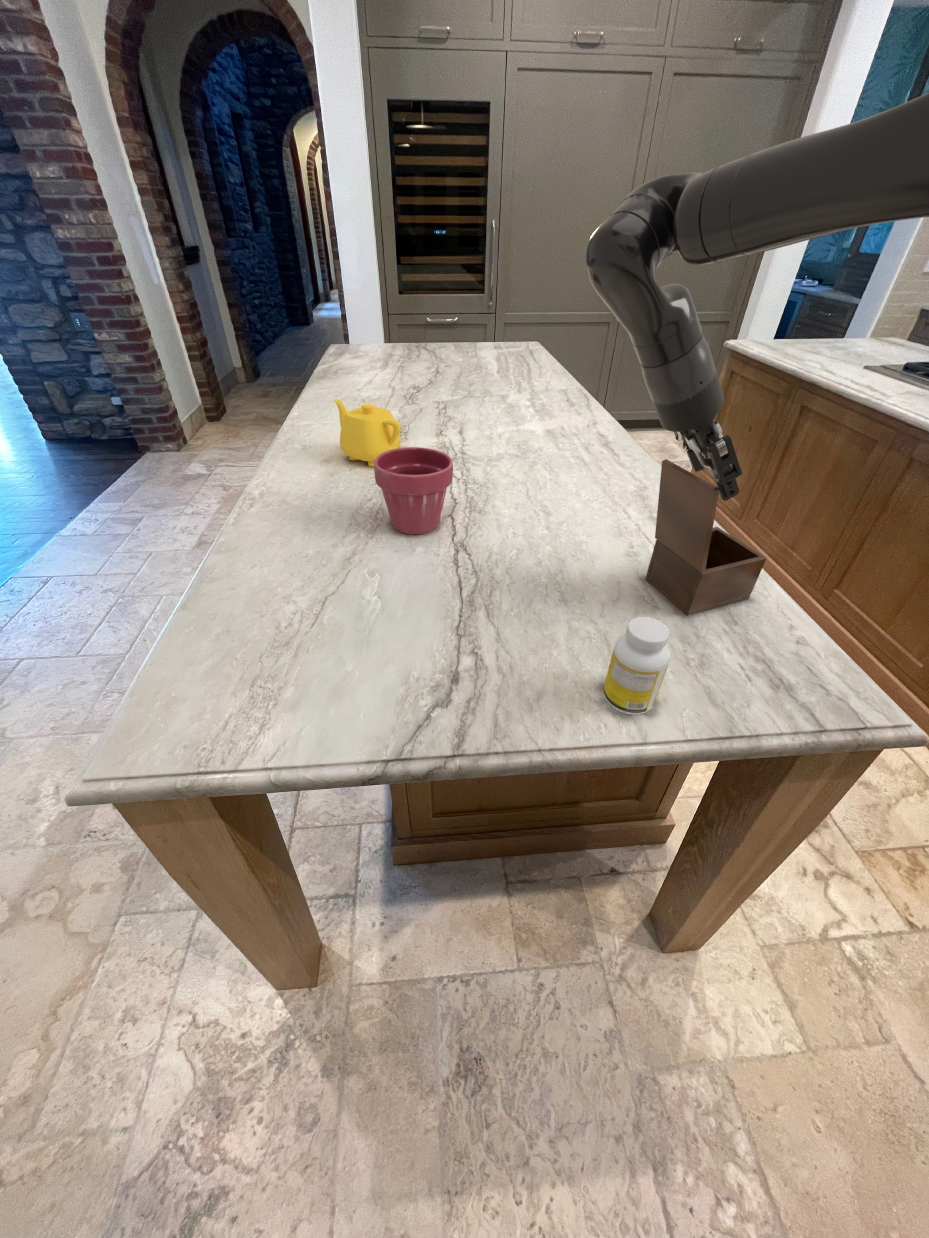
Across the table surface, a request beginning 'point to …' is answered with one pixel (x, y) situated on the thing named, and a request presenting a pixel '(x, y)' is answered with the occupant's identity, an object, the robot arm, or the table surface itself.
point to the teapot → (367, 432)
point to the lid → (685, 514)
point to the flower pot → (414, 486)
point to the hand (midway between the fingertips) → (715, 481)
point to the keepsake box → (706, 574)
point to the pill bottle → (637, 666)
